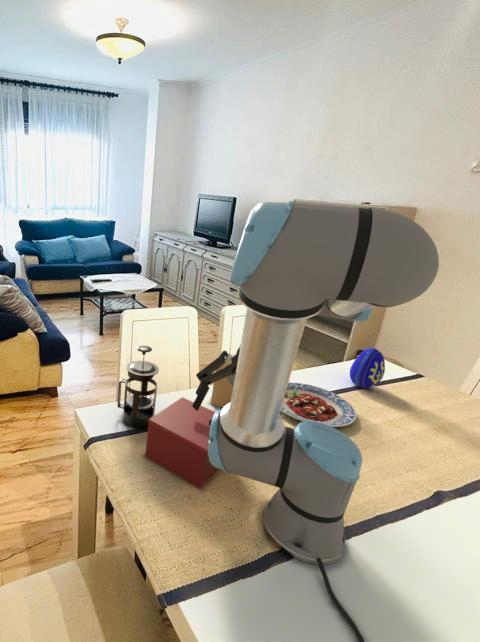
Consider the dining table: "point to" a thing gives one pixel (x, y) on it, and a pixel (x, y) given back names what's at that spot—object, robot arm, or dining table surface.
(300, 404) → the ceramic plate
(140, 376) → the french press
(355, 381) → the ornament
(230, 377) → the sandwich container
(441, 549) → the dining table surface
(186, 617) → the dining table surface
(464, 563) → the dining table surface
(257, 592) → the dining table surface
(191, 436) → the box lid
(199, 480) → the red hinged lid box
